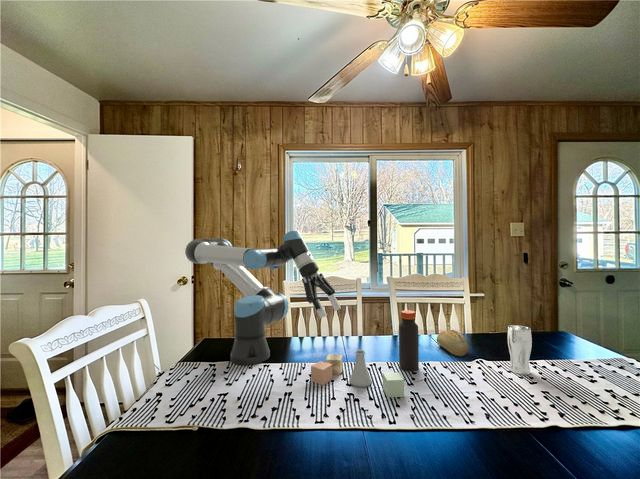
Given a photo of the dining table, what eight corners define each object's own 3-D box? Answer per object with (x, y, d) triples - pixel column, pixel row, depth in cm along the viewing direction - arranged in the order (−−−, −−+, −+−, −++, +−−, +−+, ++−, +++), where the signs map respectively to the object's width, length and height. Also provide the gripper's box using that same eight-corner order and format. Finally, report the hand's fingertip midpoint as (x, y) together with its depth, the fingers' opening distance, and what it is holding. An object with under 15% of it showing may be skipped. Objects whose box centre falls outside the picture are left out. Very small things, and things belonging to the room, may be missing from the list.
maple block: (326, 373, 104) (326, 359, 104) (328, 367, 109) (328, 353, 109) (340, 375, 103) (340, 360, 103) (342, 368, 108) (342, 354, 108)
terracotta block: (311, 381, 98) (311, 366, 98) (320, 375, 102) (320, 360, 102) (323, 385, 95) (323, 369, 95) (332, 379, 99) (332, 364, 99)
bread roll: (450, 343, 132) (450, 325, 132) (475, 356, 117) (475, 336, 117) (431, 345, 130) (430, 327, 130) (453, 359, 115) (453, 338, 115)
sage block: (387, 397, 88) (387, 380, 88) (382, 389, 93) (382, 372, 93) (404, 396, 88) (404, 379, 88) (398, 388, 93) (398, 372, 93)
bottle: (401, 362, 112) (400, 308, 112) (420, 365, 109) (419, 310, 109) (397, 369, 106) (396, 312, 106) (417, 372, 103) (416, 314, 103)
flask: (371, 388, 93) (371, 356, 93) (348, 386, 94) (347, 355, 94) (372, 378, 100) (371, 348, 100) (350, 376, 101) (350, 346, 101)
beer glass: (528, 368, 106) (527, 325, 106) (535, 376, 99) (534, 331, 99) (505, 365, 108) (505, 324, 108) (510, 374, 102) (510, 329, 101)
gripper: (297, 262, 109) (325, 315, 104) (326, 259, 131) (350, 303, 126) (282, 272, 112) (308, 324, 107) (313, 267, 134) (336, 310, 129)
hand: (331, 313), depth 116 cm, fingers open, 13 cm apart
